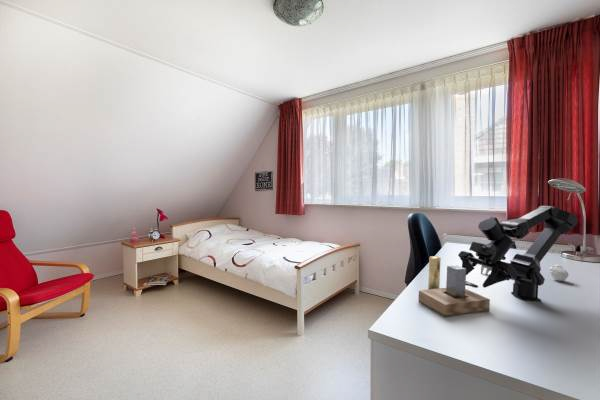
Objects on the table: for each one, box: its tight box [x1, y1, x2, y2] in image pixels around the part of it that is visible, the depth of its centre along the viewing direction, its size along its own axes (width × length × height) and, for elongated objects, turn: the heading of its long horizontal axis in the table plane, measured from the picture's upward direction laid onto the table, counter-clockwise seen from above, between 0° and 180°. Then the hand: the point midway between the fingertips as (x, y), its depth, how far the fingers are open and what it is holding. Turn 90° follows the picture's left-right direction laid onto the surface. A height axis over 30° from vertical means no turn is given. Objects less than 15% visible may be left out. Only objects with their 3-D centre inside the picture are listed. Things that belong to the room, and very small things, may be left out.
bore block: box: [418, 287, 491, 318], centre depth 92 cm, size 18×12×4 cm, turn 105°
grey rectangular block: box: [445, 265, 467, 299], centre depth 92 cm, size 4×4×13 cm
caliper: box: [480, 265, 492, 275], centre depth 124 cm, size 20×1×6 cm, turn 55°
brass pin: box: [427, 255, 441, 290], centre depth 107 cm, size 4×4×13 cm
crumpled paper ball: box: [548, 264, 570, 282], centre depth 120 cm, size 6×7×7 cm
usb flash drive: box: [465, 280, 479, 288], centre depth 115 cm, size 9×5×1 cm, turn 18°
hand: (471, 281), depth 94 cm, fingers open, 9 cm apart
